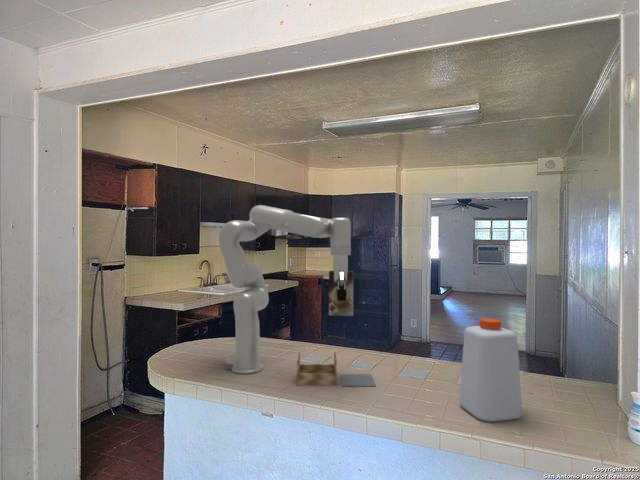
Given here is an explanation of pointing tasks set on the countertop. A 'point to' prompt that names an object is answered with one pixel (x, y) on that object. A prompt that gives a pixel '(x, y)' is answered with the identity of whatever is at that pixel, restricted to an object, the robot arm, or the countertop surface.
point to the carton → (316, 373)
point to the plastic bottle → (490, 372)
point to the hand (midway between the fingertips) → (341, 298)
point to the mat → (357, 380)
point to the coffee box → (334, 305)
